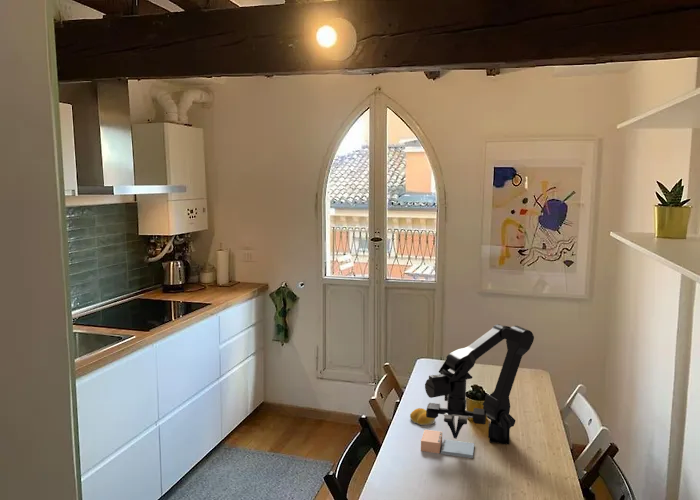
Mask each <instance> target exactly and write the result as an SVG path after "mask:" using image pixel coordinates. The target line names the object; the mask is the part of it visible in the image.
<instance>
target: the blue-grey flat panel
mask: <svg viewBox="0 0 700 500" xmlns="http://www.w3.org/2000/svg"><path fill="white" fill-rule="evenodd" d="M474 449H475V443H474V442H469V441H459V440H454V439H453V440H452V439H446V438H443V439H442V445H441V449H440V454H441V455H446V456H447V455H448V456H454V457H459V458H460V457H461V458H470V459H473V458H474Z"/></svg>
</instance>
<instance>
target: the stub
mask: <svg viewBox="0 0 700 500" xmlns="http://www.w3.org/2000/svg"><path fill="white" fill-rule="evenodd" d="M442 445H443V431H439V430H430V429H424V431H423V434H422V436H421V440H420V452H427V453H431V454H432V453H433V454H441V449H442Z"/></svg>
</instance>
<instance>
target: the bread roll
mask: <svg viewBox="0 0 700 500" xmlns="http://www.w3.org/2000/svg"><path fill="white" fill-rule="evenodd" d="M426 410H427V409H424V408H421V407H419V408H416V409H414V410H413V411H412V412H411V413H410V416H409V417H410V420H411V421H412V422H413V423H415V424H417V425H419V426H431V425H433V424H434V423H435V421H436V418H428V417H426Z"/></svg>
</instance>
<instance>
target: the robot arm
mask: <svg viewBox="0 0 700 500" xmlns="http://www.w3.org/2000/svg"><path fill="white" fill-rule="evenodd" d="M534 339H535V336H534V334H533V332H532V331H531V330H529V329H528V328H524V327H523V326H519V325H513V326H508V325H502V324H499V323H498V324H494V325H493V327H492V328H491V329H490V330H488V331H487V332H485V333H484V334H483V335H481V336H480V337H479V338H477V339H476V340H474V341H473V342H472V343H471V344H469V345H468V346H466V347H462V348H458V349H456V350H454V351H452V352H450V353H449V354H448V355H447V356H446V358H445V361H444V362H443V363H442V365H441V367H440V369H439V370H438V373H439V374H432V375H431V374H429V376H428V379H427V380H426V381H425V384H424V389H425V393H426V395H427V397H428V398H430V399H432V398H438V397H439V398H440V397H444V402H447V405H446V406H447V407H446V408H443V407H441V404H440V403H435V402H429V403H428V404H427V407H426V409H425V410H426V417H428V418H435V419H437V418H438V417H439V415H443V416H444V418H443V422H444V423H447V426H448V427H449V429H450V431H451V434H452V437H453V439H457V438H458V435H459V433H460V431H461V429H462V428H463V426H464V425H467V424H468V421H469V418H471V419H472V422H473V423H474V424H477V425H485V424H486V422H487V421H486V420H487V419H489V420H490V423H488V433H487V434H488V436H487V437H488V439H489V441H488V442H489V443H493V444H501V445H508V446H509V445H510V444H511V443H510V441H511V440H510V438H511V437H510V433H511V431H510V430H511V428H512V427H514V426H515V425H516V419H515V417H513V416H512V415H511V414H510V413H511V412H510V411H511V401H510V395H511V391H512V389H513V385H514V382H515V379H516V376H517V373H518V370H519V367H520V363H521V360H522V358H523V356H525V354H526V353H527V352H528V351H530V349H531V346H532V345H533V344H534V341H535V340H534ZM504 340H505V342H506V348H507V350H506V351H507V352H506V353H505V357H504V361H503V363H502V367H501V369H500V373H499V375H498V379H497V382H496V384H495V388H494V390H493V391H492V393H490V394H489V393H486V394H485V397H484V401H483V403H482V404H481V405H482V406H483V407H482V408H478V407H473V411H470V410H466V408H467V380H471V379H473V376H472V375H471V374H470V373H469V372H470V371H471V369H473V367H474V366H475V363H476V361H477V360H478V359H479V358H480V357H482V356H483V355H485V354H486V353H487V352H489V351H490V350H491V349H492V348H494V347H495V346H496V345H498V344H499V343H501V342H502V341H504ZM451 371H452V372H451ZM456 417H458V419H457V423H455V422H456V420H455V418H456Z"/></svg>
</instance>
